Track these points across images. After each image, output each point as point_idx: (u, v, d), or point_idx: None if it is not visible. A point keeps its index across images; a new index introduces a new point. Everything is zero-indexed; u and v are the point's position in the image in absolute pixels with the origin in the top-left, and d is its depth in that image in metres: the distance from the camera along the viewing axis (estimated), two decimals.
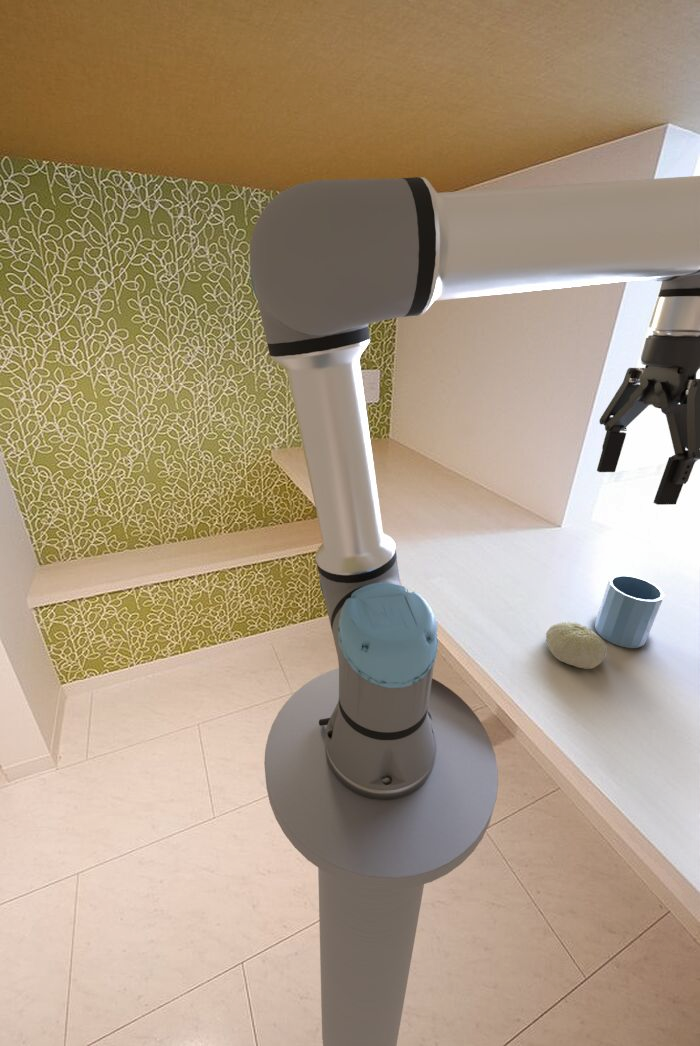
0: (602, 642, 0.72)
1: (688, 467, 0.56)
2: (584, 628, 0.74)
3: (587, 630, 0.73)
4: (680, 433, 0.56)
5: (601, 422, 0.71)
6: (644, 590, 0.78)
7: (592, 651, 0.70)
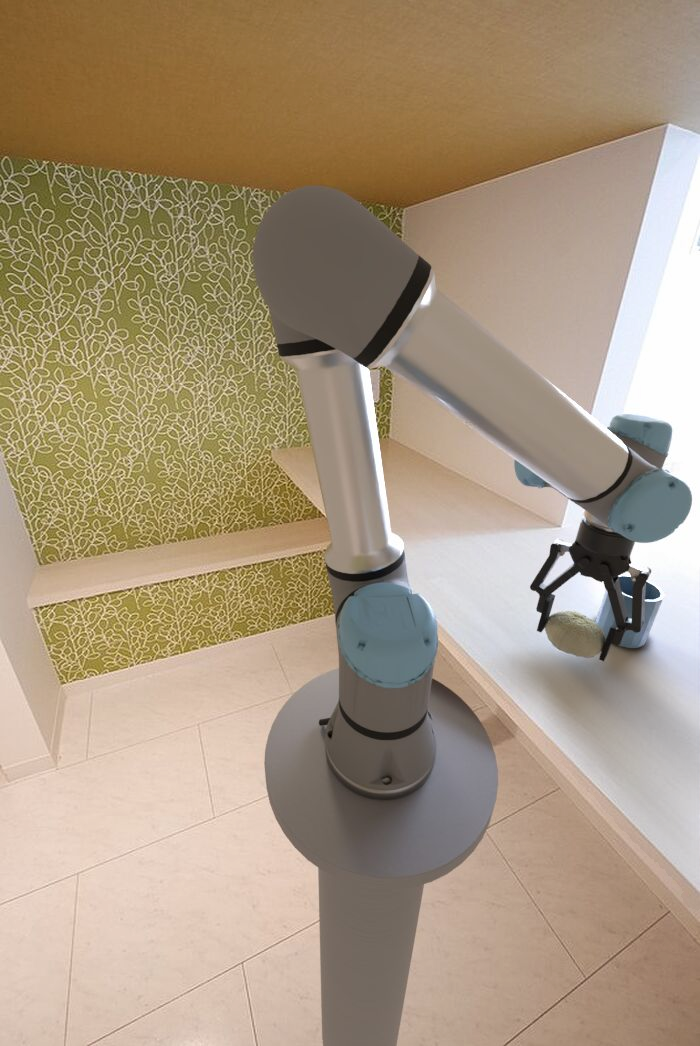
0: (602, 631, 0.71)
1: (624, 632, 0.68)
2: (584, 617, 0.73)
3: (587, 619, 0.72)
4: (621, 609, 0.66)
5: (534, 589, 0.74)
6: None
7: (592, 639, 0.69)
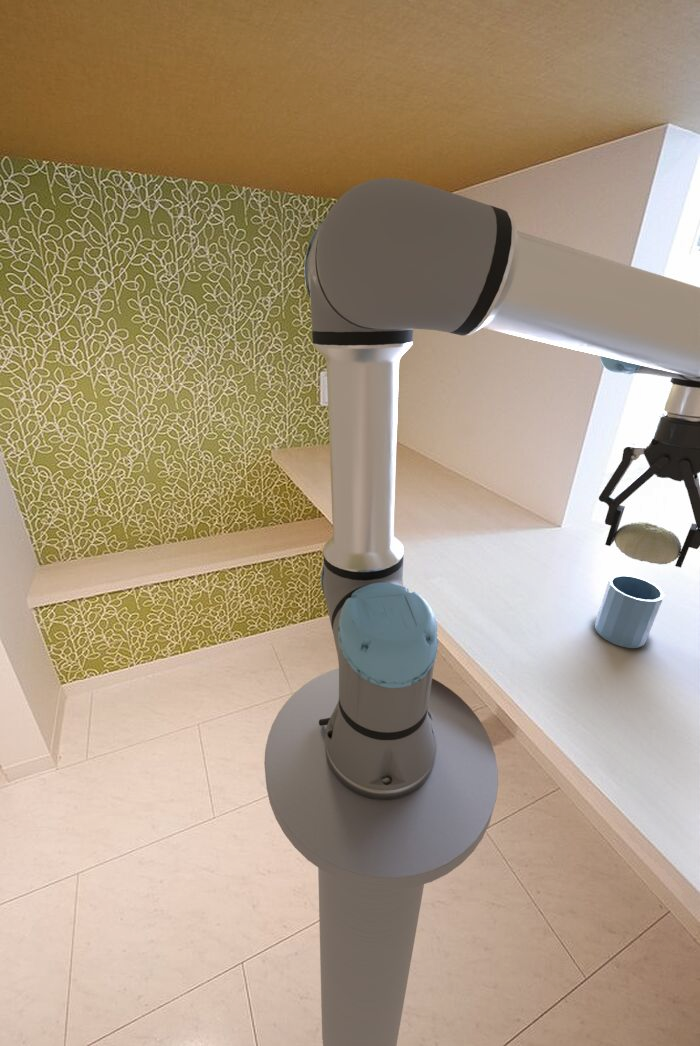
0: (677, 538, 0.69)
1: None
2: (656, 526, 0.71)
3: (660, 527, 0.70)
4: None
5: (603, 500, 0.72)
6: (644, 590, 0.78)
7: (669, 544, 0.67)
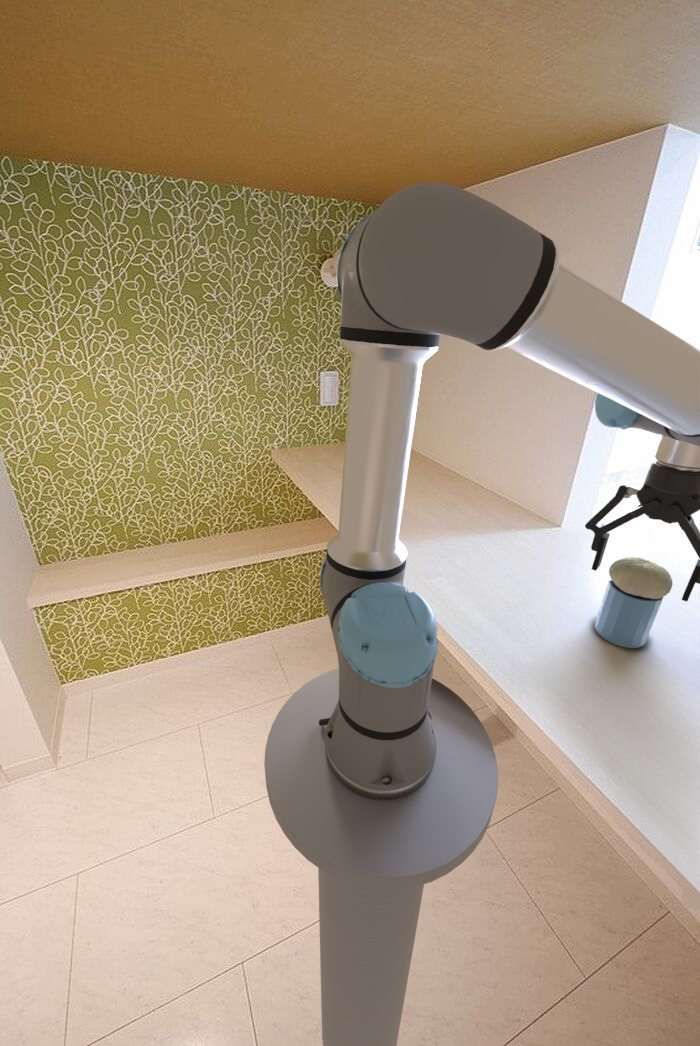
0: (668, 573, 0.73)
1: None
2: (649, 561, 0.75)
3: (652, 563, 0.74)
4: None
5: (589, 527, 0.77)
6: None
7: (661, 580, 0.71)
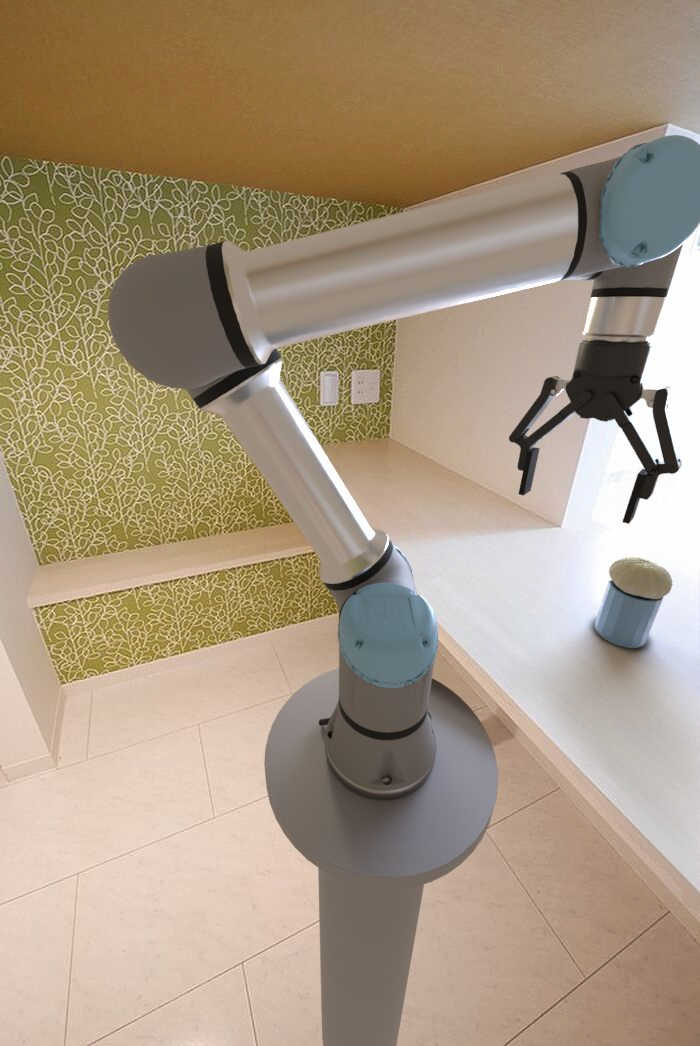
0: (668, 573, 0.73)
1: (655, 480, 0.53)
2: (649, 561, 0.75)
3: (652, 563, 0.74)
4: (646, 447, 0.51)
5: (513, 440, 0.62)
6: None
7: (661, 580, 0.71)
